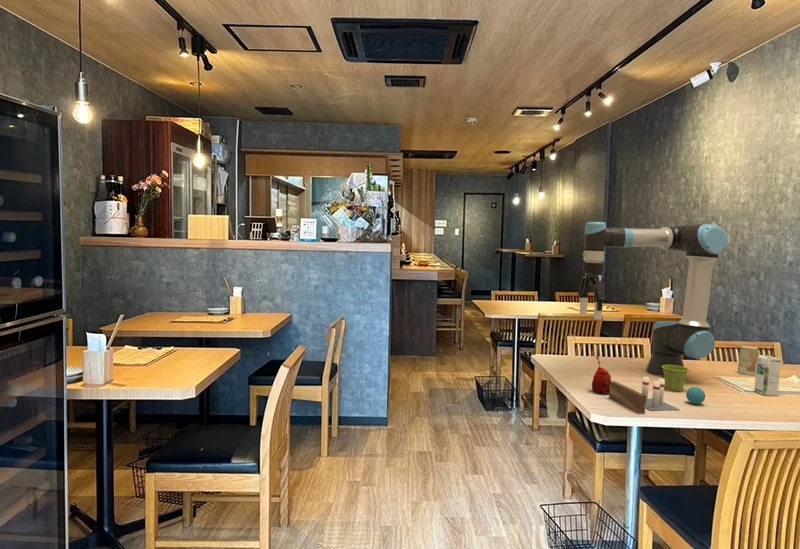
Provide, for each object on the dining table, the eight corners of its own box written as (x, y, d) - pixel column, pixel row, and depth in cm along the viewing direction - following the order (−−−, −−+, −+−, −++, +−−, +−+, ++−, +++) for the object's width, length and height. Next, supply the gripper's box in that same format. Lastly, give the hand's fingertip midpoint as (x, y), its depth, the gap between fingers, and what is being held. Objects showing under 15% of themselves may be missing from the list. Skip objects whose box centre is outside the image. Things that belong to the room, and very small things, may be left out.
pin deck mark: (655, 398, 202) (655, 398, 202) (679, 410, 190) (680, 409, 190) (628, 399, 200) (628, 398, 200) (650, 410, 187) (651, 410, 187)
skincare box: (739, 374, 247) (741, 346, 246) (737, 372, 251) (739, 345, 251) (755, 376, 245) (758, 348, 244) (753, 373, 249) (756, 346, 248)
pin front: (660, 403, 197) (662, 378, 196) (664, 405, 195) (666, 380, 194) (655, 403, 196) (657, 378, 196) (659, 405, 194) (660, 380, 193)
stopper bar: (614, 397, 202) (615, 381, 201) (644, 413, 184) (646, 395, 184) (609, 397, 202) (610, 381, 201) (639, 413, 184) (640, 395, 183)
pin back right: (645, 401, 199) (646, 376, 198) (648, 403, 197) (650, 377, 196) (639, 401, 198) (641, 376, 198) (643, 403, 196) (645, 377, 196)
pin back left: (655, 406, 193) (657, 380, 192) (659, 408, 191) (661, 382, 190) (650, 406, 192) (652, 380, 192) (654, 408, 190) (656, 382, 190)
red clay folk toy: (611, 396, 204) (613, 355, 203) (591, 393, 206) (593, 353, 205) (611, 391, 211) (613, 351, 210) (591, 388, 213) (593, 349, 212)
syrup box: (753, 391, 218) (756, 355, 217) (767, 391, 218) (770, 355, 217) (764, 395, 212) (767, 358, 211) (778, 396, 213) (781, 358, 212)
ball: (696, 401, 202) (697, 384, 201) (708, 406, 196) (709, 389, 195) (681, 401, 200) (683, 384, 200) (693, 406, 194) (694, 389, 194)
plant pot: (676, 394, 210) (678, 371, 210) (655, 387, 219) (656, 365, 218) (692, 391, 215) (694, 369, 214) (670, 385, 223) (672, 364, 222)
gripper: (571, 260, 228) (568, 311, 229) (597, 263, 203) (594, 321, 204) (589, 260, 228) (586, 312, 230) (617, 264, 203) (614, 321, 205)
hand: (590, 316), depth 217 cm, fingers open, 13 cm apart
